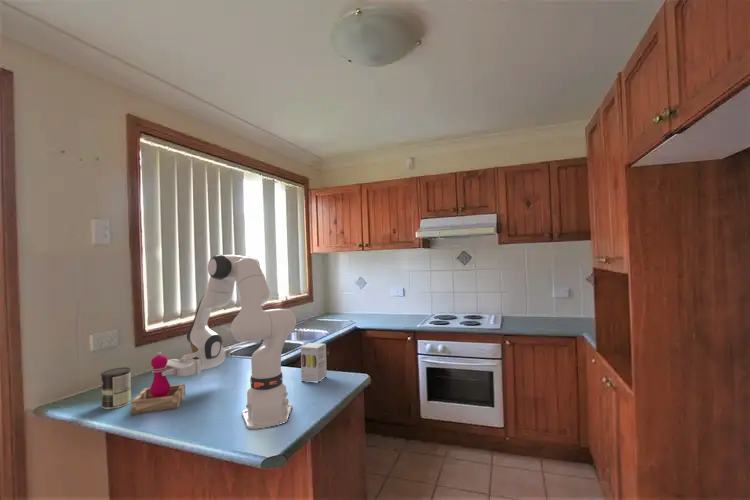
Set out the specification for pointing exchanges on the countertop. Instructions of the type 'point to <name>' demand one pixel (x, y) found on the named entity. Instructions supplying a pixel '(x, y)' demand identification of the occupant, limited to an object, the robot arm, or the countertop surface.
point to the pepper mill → (159, 377)
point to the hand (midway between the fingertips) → (157, 372)
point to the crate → (158, 400)
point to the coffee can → (116, 388)
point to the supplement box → (313, 362)
